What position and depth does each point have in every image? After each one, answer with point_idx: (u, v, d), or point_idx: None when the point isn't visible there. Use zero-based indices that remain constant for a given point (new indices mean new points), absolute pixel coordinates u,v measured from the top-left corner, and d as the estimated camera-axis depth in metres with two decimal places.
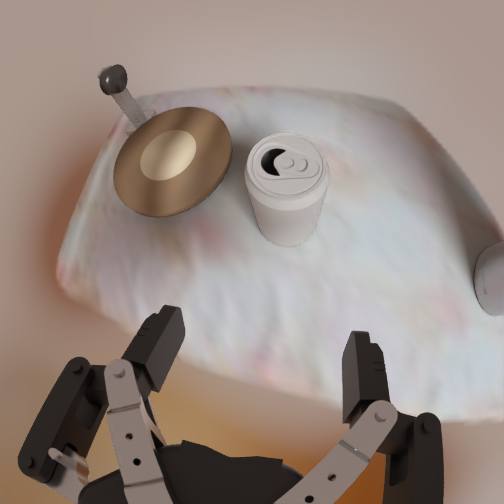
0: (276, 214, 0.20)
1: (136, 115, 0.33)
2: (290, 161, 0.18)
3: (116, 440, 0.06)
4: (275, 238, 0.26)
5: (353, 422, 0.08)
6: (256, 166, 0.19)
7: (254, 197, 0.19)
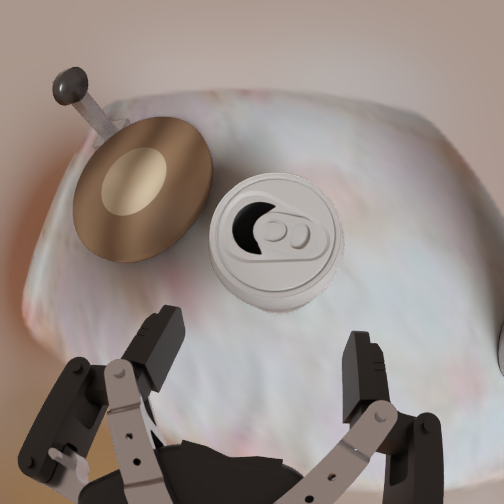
0: None
1: (103, 127, 0.26)
2: (280, 228, 0.11)
3: (116, 440, 0.06)
4: None
5: (353, 422, 0.08)
6: (224, 235, 0.12)
7: (222, 282, 0.12)
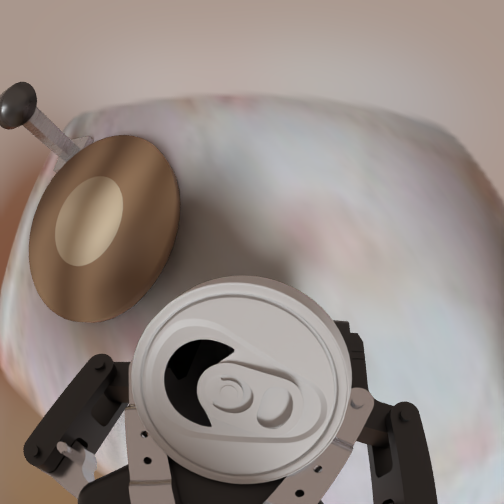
0: None
1: (60, 148, 0.21)
2: (242, 392, 0.06)
3: (130, 436, 0.06)
4: None
5: None
6: (154, 389, 0.06)
7: None
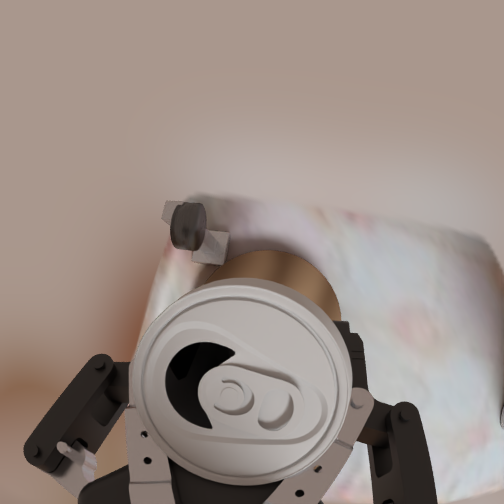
0: None
1: (210, 249, 0.30)
2: (243, 394, 0.06)
3: (130, 436, 0.06)
4: None
5: None
6: (155, 392, 0.06)
7: None
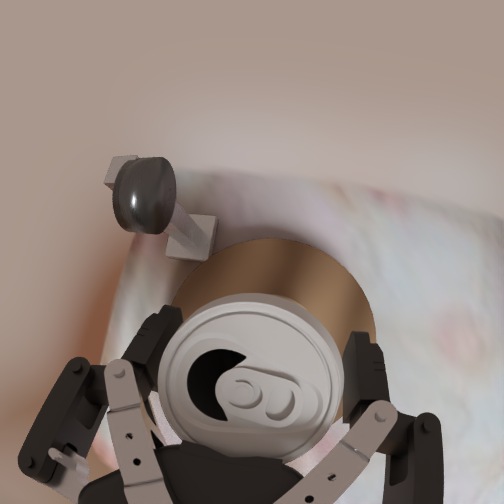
0: None
1: (188, 237, 0.21)
2: (253, 391, 0.07)
3: (116, 440, 0.06)
4: None
5: (353, 422, 0.08)
6: (178, 392, 0.08)
7: None
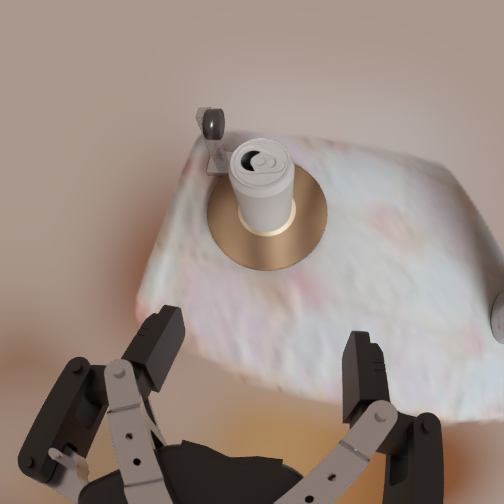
0: (252, 201, 0.26)
1: (222, 158, 0.38)
2: (262, 160, 0.24)
3: (116, 440, 0.06)
4: (255, 223, 0.32)
5: (353, 422, 0.08)
6: (237, 164, 0.25)
7: (235, 187, 0.25)
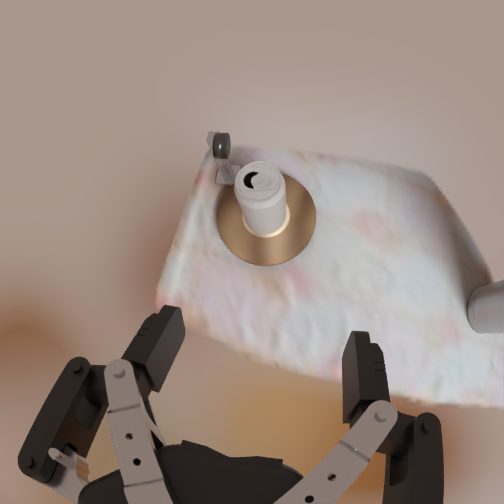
0: (252, 211, 0.33)
1: (229, 171, 0.46)
2: (260, 180, 0.32)
3: (116, 440, 0.06)
4: (255, 227, 0.40)
5: (353, 422, 0.08)
6: (240, 183, 0.32)
7: (239, 201, 0.33)
